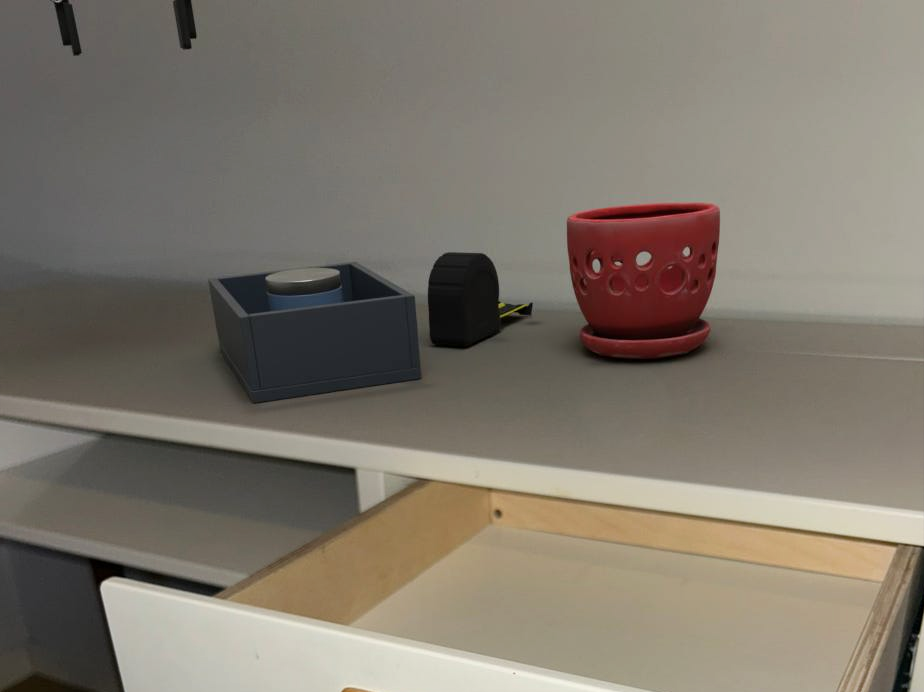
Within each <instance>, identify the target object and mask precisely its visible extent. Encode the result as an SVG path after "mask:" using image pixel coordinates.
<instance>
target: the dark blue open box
mask: <svg viewBox="0 0 924 692" xmlns="http://www.w3.org/2000/svg"><path fill="white" fill-rule="evenodd" d="M306 268H329V269H335V270H338V271H339V272H340V279H341V285H342V292H343V301H344V302H343V303H335V304H327V305H319V306H311V307H303V308H294V309H286V310H278V311H269V304H268V297H267V286H266V280H265V278H266V277H267V276H268V275H271V274H274V273H277V272H282V271H288V270H295V269H306ZM207 281H208V287H209V293H210V299H211V304H212V305H211V306H212V311H213V317H214V322H215V329H216V334H217V339H218V346H219V352H220V353H221V355H222V356H223V358H224V359H225V361H226V363H227V364H228V366H229V368H230V369H231V370H232V372H233V374H234V375H235V376H236V379H237V380H238V381H239V383H240V385H241V387H243V389H244V391H245V393H246V394H247V396H248V397H249V399H250V400H251V402H252V404H258V403H265V402H272V401H278V400H285V399H292V398H298V397H299V398H300V397H305V396H306V397H307V396H312V395H319V394H326V393H332V392H333V393H334V392H339V391H346V390H353V389H360V388H367V387H374V386H379V385H380V386H381V385H387V384H394V383H400V382H407V381H414V380H415V381H416V380H421V379H422V369H421V357H420V345H419V344H420V343H419V332H418V320H417V308H416V296H415V295H414V294H413V293H411V292H409V291H408V290H406V289H405V288H402V287H400V286H399V285H397V284H395V283H393V282H392V281H390V280H388V279H386V278H385V277H383V276H381V275H380V274H378V273H376V272H374V271H373V270H371V269H369V268H368V267H366V266H364V265H362V264H361V263H359V262H357V261H350V262H341V263H332V264H323V265H314V266H306V267H298V268H287V269H279V270H270V271H262V272H254V273H253V272H251V273H244V274H235V275H228V276H217V277H210V278H207Z"/></svg>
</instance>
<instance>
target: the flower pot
mask: <svg viewBox="0 0 924 692" xmlns="http://www.w3.org/2000/svg"><path fill="white" fill-rule="evenodd" d="M720 233H721V209H720V207H719V206H718V205H716V204H714V203H707V202H658V203H642V204H641V203H640V204H630V205H629V204H627V205H617V206H608V207H602V208H594V209H589V210H584V211H579V212H575V213H573V214H570V215H569V216H568V217H567V218H566V245H567V254H568V255H567V256H568V264H569V275H570V279H571V284H572V289H573V292H574V296H575V298H576V302H577V304H578V307H579V309H580V312H581V313H582V315H583V317H584V320H585V321H586V322H587V324H585V325H583V327H581V329H580V331H579V339H580V341H581V343H582V344H583V345H584V346H585V347H586V348H587V349H588V350H590V351H591V352H593V353H594V354H595V353H596V354H597V356H599V357H609V358H610V357H611V358H618V359H626V360H627V359H628V360H646V359H649V360H650V359H651V360H652V359H660V358H669V357H674V356H678V355H681V356H682V355H683V356H684V355H688V354H689V352H690V351H693V350H694V349H696V348H697V347H699V346H700V345H702V344H703V342H705V341H706V339H707V338H708V336H709V335H710V333H711V323H710V322H709V321H707V320H705V319H703V318H701V316H702V314H703V313H704V310H705V308H706V306H707V304H708V301H709V299H710V297H711V294H712V290H713V287H714V283H715V279H716V275H717V274H716V273H717V262H718V254H719V245H720ZM686 248H688V249H689V254H688V255H685V254H684V253H683V252H684V251H685V249H686ZM643 252H645V253H649V255H650V258H649V260H648V261H647V262H646V263H643V264H638V262H637V258H638V255H639V254H640V253H643ZM595 260H597V261H598V262H599V270H598V272H596V271H595V269H594V266H593V264H594V261H595ZM617 263H620V264H619V265H618V264H617Z"/></svg>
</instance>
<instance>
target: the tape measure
mask: <svg viewBox="0 0 924 692" xmlns="http://www.w3.org/2000/svg"><path fill="white" fill-rule="evenodd" d="M427 284H428V285H427V305H428V308H427V309H428V326H429V328H428V329H429V338H430V339H429V340H430V342H431V344H432V345H444V346H456V347H457V346H459V347H460V346H461V347H469V346H471V345H473V344H475V343H477V342H478V341H480V340H483V339H484V338H487V337H491V336H494V335H496V334H498V333H499V332H500V331H501V328H502V324H501V323H502V322H501V318H503V317H506V316H507V315H512V314H514V313H516V314H518V315H520V316H532V312H533V306H534V303H533V302H529V304H527V303H525V304H521V303H519V304H512V303H506V302H505V303H504V302H501V301H500V282H499V277H498V272H497V268H496V267H495V264H494V262H493V260H492V259H491V258H490V257H489V256H488V255H487V254H485V253H482V252H460V251H459V252H458V251H457V252H455V251H453V252H452V251H448V252H444V253H443V254H441V255H439V257H438V258H437V259H436V260H435V262H434V264H433V265H432V269H431V270H430V273H429V277H428V282H427Z"/></svg>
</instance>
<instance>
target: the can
mask: <svg viewBox="0 0 924 692" xmlns="http://www.w3.org/2000/svg"><path fill="white" fill-rule="evenodd" d="M294 269H295V270H288V271H282V272H277V273H274V274H271V275H268V276H267V277H266V278H265V280H266V286H267V297H268V304H269V311H278V310H286V309H294V308H303V307H311V306H319V305H327V304H335V303H343V302H344V301H343V292H342V285H341V279H340V272H339V271H338V270H335V269H329V268H306V269H296V268H294Z"/></svg>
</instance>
